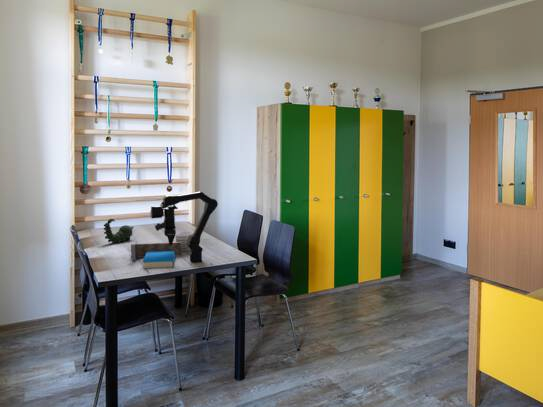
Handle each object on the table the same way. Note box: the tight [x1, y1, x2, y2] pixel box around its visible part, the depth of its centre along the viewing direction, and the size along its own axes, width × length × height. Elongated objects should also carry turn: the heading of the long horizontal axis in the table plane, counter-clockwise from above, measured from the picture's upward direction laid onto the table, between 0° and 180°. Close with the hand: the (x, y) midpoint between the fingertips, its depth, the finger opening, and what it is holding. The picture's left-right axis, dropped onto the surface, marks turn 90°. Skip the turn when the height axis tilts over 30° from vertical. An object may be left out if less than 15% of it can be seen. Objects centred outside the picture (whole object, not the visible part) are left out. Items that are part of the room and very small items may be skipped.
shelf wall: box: [130, 241, 182, 258], centre depth 285 cm, size 30×2×8 cm, turn 101°
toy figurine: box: [103, 218, 135, 244], centre depth 327 cm, size 9×19×25 cm
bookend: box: [131, 240, 138, 262], centre depth 276 cm, size 2×10×10 cm, turn 11°
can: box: [175, 231, 194, 254], centre depth 297 cm, size 11×11×12 cm
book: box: [142, 251, 176, 269], centre depth 271 cm, size 17×4×25 cm
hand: (170, 243), depth 265 cm, fingers open, 9 cm apart
